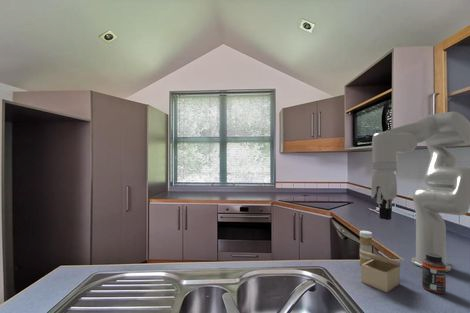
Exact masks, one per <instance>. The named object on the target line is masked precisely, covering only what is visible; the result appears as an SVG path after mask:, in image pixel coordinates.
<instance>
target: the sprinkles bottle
mask: <svg viewBox="0 0 470 313" xmlns="http://www.w3.org/2000/svg"><path fill="white" fill-rule="evenodd" d="M361 250H362V251H365V252H369V253H372V254H373V232H371V231H368V230H360V231H359V252H360V251H361ZM372 259H373V258H370V257H367V256H364V255H361V254H360V253H359V266H361V264H364V263H366V262H368V261H370V260H372Z"/></svg>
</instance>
